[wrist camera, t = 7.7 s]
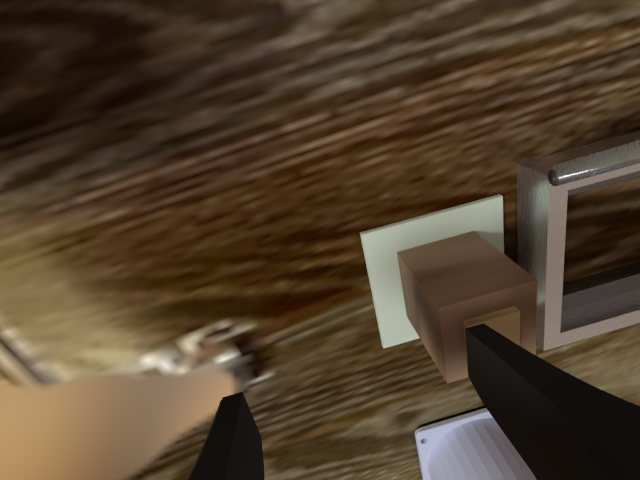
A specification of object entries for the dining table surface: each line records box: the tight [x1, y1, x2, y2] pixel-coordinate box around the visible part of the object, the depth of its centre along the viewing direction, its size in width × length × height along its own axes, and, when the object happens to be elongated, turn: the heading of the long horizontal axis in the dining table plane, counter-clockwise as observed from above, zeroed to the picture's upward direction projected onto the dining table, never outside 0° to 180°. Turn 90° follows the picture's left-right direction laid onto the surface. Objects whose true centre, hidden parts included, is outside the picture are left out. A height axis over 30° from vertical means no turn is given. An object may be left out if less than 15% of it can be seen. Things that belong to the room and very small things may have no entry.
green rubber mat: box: [360, 194, 504, 348], centre depth 23 cm, size 8×8×1 cm
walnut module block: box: [397, 231, 537, 383], centre depth 21 cm, size 4×4×6 cm
